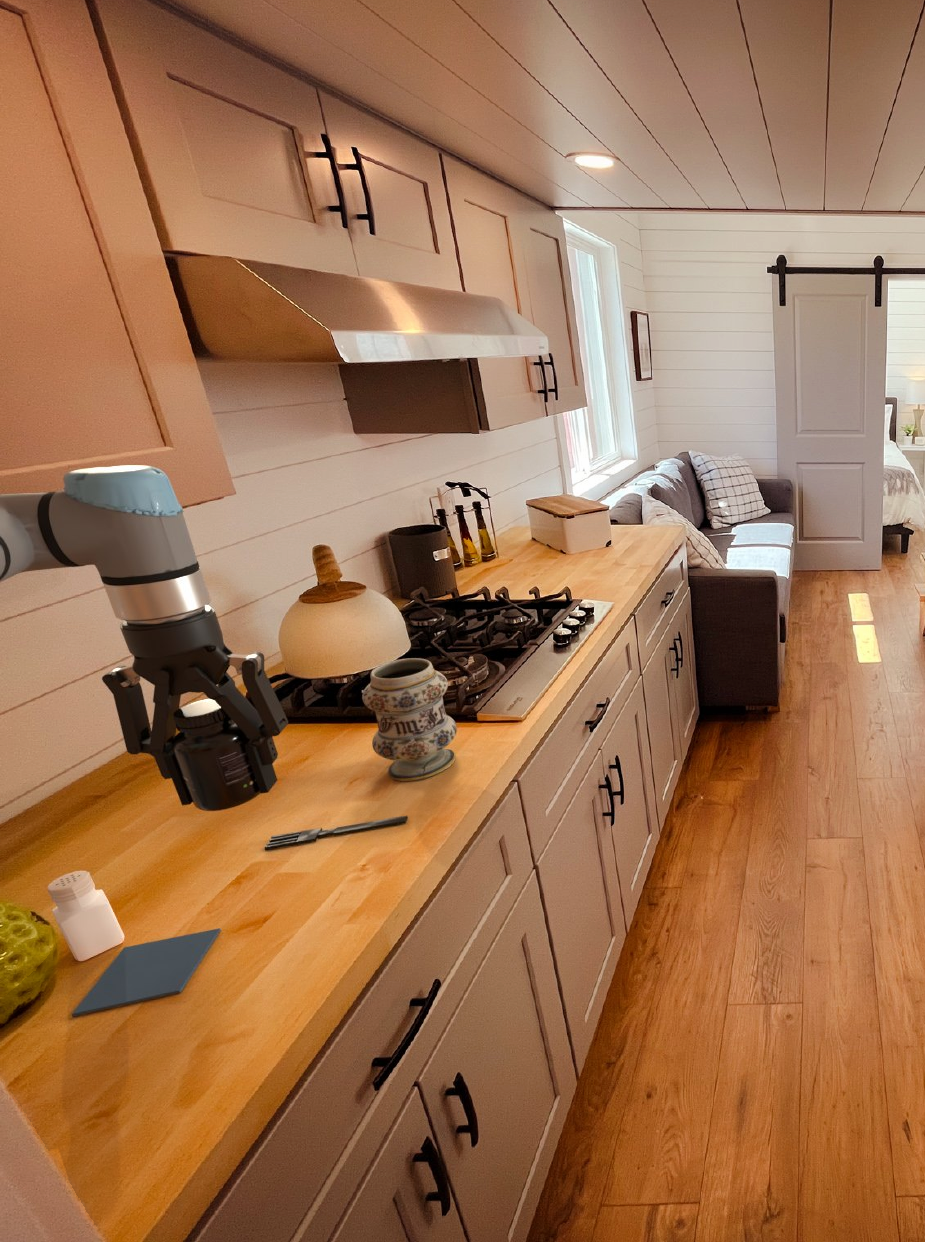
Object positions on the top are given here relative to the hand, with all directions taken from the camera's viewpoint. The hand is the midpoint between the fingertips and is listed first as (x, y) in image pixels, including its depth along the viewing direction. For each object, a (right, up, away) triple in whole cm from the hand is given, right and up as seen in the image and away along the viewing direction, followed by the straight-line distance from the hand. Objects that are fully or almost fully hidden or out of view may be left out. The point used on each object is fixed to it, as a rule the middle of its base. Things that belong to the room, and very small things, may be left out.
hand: (231, 792), depth 81 cm
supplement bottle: (0, -1, 0) cm, 1 cm away
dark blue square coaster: (-4, -18, -6) cm, 20 cm away
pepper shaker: (-13, -17, -2) cm, 22 cm away
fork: (+1, -10, +17) cm, 20 cm away
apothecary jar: (+3, -4, +33) cm, 34 cm away
